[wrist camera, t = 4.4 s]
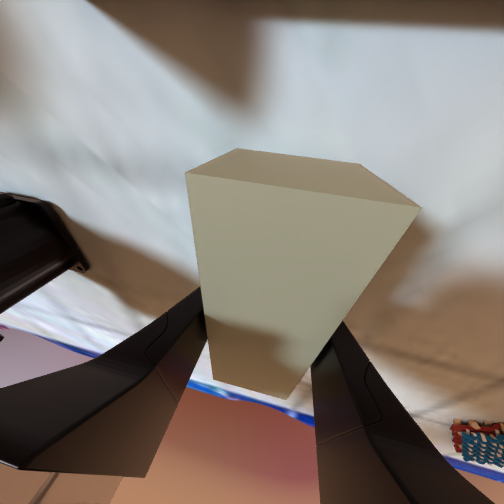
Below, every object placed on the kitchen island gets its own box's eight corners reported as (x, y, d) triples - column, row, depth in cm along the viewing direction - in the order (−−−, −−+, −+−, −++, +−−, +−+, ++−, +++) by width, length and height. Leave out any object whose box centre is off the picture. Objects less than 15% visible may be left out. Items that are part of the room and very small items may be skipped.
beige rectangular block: (288, 335, 14) (286, 399, 10) (232, 321, 14) (213, 379, 11) (359, 163, 6) (422, 207, 3) (236, 148, 7) (184, 172, 4)
